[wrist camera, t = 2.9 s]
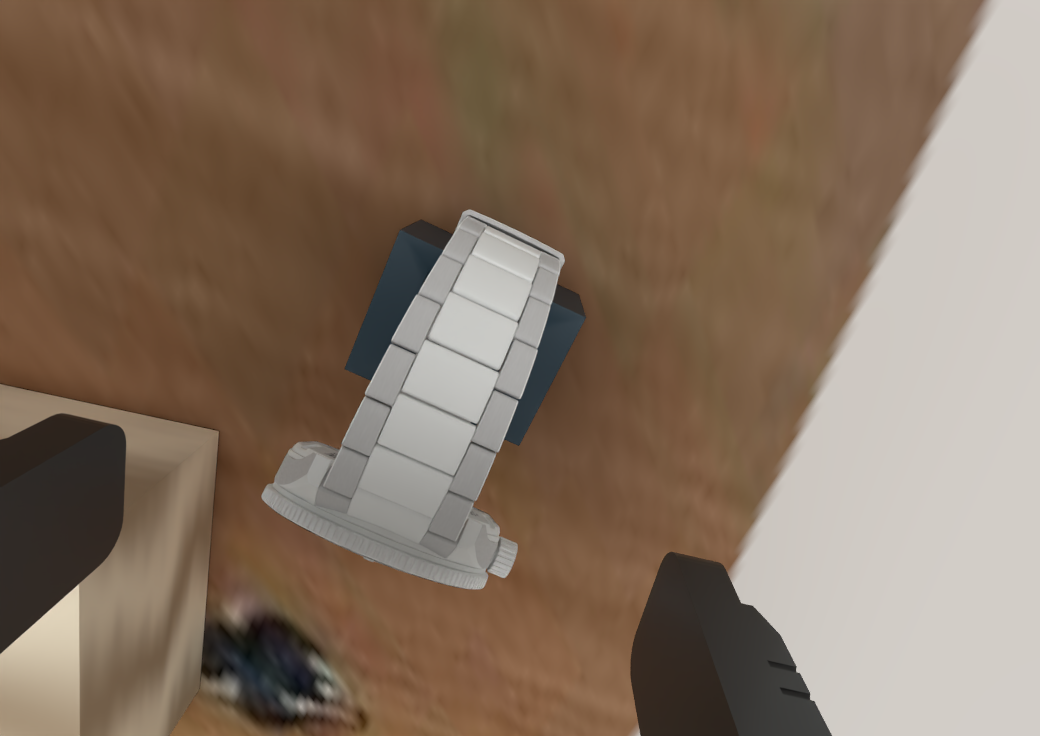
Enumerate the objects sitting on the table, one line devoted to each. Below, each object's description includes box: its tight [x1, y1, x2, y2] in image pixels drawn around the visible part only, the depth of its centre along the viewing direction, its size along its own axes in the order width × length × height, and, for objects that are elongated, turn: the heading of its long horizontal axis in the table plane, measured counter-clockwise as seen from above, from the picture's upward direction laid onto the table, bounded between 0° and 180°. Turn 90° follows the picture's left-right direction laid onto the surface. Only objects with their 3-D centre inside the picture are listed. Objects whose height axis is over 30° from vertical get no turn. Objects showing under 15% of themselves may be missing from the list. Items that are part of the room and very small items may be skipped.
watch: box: [261, 209, 586, 589], centre depth 15 cm, size 6×8×11 cm
